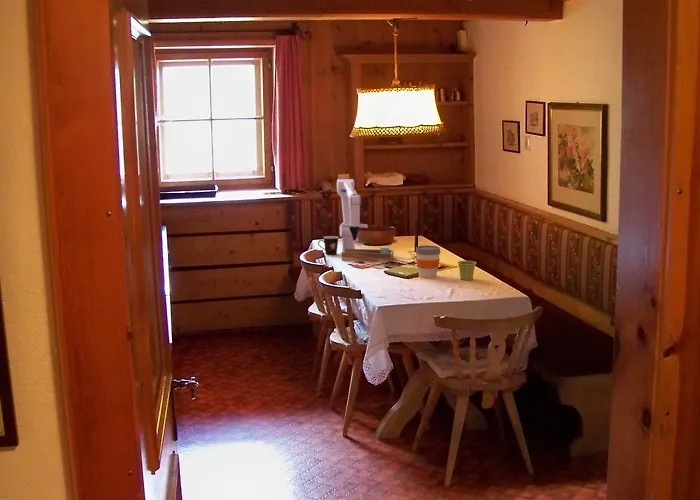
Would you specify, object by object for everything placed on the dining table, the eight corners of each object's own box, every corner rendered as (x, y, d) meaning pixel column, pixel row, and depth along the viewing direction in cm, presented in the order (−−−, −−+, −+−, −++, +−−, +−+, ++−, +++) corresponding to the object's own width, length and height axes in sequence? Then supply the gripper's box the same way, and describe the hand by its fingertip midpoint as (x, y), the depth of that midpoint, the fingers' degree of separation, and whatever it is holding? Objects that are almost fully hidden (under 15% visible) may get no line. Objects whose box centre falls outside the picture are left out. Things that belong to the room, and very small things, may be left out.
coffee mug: (339, 252, 504) (339, 236, 503) (337, 255, 496) (337, 238, 494) (319, 252, 506) (319, 235, 504) (317, 255, 497) (317, 238, 495)
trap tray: (345, 256, 494) (345, 248, 493) (393, 257, 489) (393, 250, 488) (341, 260, 481) (341, 252, 480) (391, 261, 477) (391, 254, 476)
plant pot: (477, 281, 427) (478, 264, 426) (459, 281, 426) (459, 264, 425) (473, 277, 436) (474, 260, 435) (455, 277, 436) (455, 260, 434)
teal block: (381, 254, 488) (381, 246, 488) (389, 254, 488) (389, 246, 487) (380, 255, 484) (380, 248, 483) (388, 256, 483) (388, 248, 482)
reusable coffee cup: (443, 278, 434) (444, 249, 432) (420, 279, 431) (421, 250, 428) (434, 273, 446) (434, 245, 443) (411, 274, 443) (412, 246, 440)
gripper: (340, 217, 481) (340, 240, 484) (366, 217, 479) (366, 241, 481) (342, 215, 488) (343, 238, 491) (368, 216, 486) (367, 239, 488)
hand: (354, 240), depth 487 cm, fingers closed
